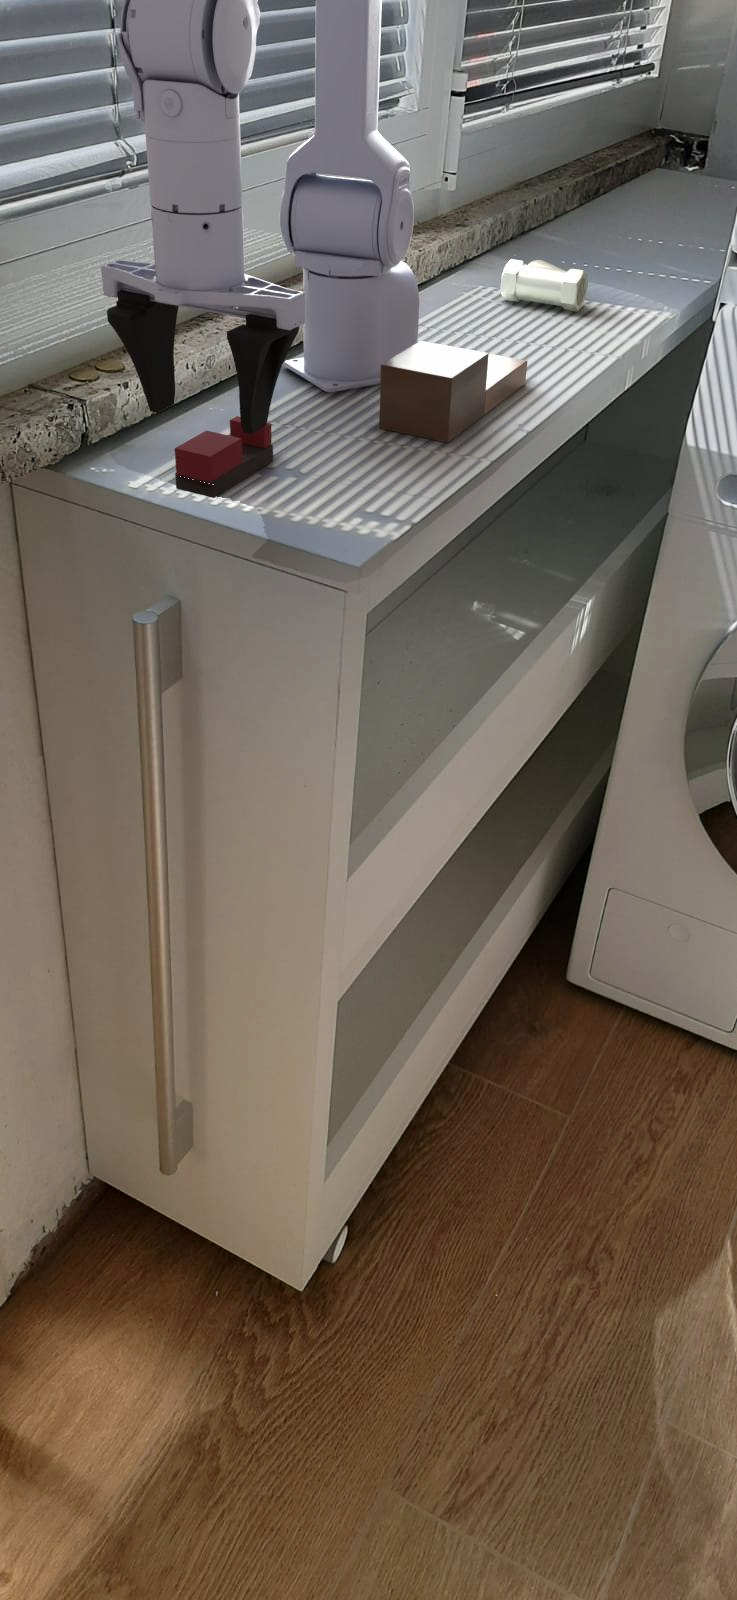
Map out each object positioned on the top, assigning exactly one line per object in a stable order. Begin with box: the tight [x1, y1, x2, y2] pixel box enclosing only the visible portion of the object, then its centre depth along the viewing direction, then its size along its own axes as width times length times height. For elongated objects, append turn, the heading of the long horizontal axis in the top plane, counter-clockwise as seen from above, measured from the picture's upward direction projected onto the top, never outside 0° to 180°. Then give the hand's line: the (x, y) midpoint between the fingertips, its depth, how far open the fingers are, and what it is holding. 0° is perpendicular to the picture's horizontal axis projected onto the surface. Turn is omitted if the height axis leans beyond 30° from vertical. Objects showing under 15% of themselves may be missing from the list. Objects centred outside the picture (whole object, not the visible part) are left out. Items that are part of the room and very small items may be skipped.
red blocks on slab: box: [174, 415, 274, 499], centre depth 90 cm, size 8×3×3 cm, turn 152°
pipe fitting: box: [500, 258, 589, 313], centre depth 128 cm, size 8×4×7 cm
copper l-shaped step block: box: [378, 340, 528, 444], centre depth 102 cm, size 16×6×5 cm, turn 152°
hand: (207, 418), depth 87 cm, fingers open, 7 cm apart
